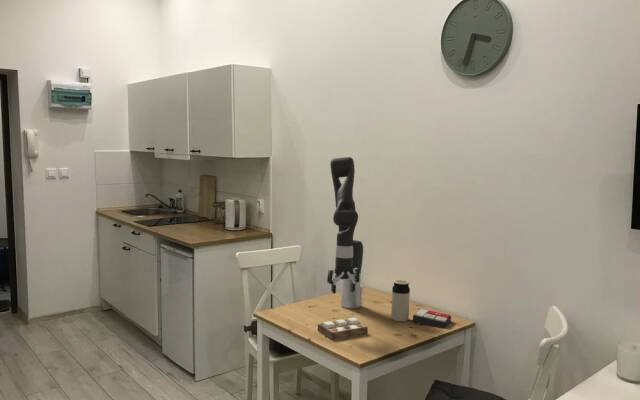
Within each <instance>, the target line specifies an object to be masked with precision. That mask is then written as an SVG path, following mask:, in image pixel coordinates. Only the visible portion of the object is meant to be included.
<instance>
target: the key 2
mask: <svg viewBox="0 0 640 400" xmlns="http://www.w3.org/2000/svg"><path fill="white" fill-rule="evenodd" d="M346 320H347V323H349V324H351V325H353V324H358V323H359V322H360V321H359V319H358V318H356V317H349V318H346Z"/></svg>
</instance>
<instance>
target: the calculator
mask: <svg viewBox="0 0 640 400" xmlns="http://www.w3.org/2000/svg"><path fill="white" fill-rule="evenodd" d="M451 321H452V316H451V315H450V314H447V313H442V312H437V311H433V310H426V309H422V308H421V309H419V310H417V312H415V313H414V314H412V323H414V324H418V323H420V325H425V324H426V326H430V325H432V326H431V327H435V326H437V327H436V328H440V329H446V328H447V327H448V325H449V324H450V323H451Z"/></svg>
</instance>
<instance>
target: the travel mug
mask: <svg viewBox="0 0 640 400" xmlns="http://www.w3.org/2000/svg"><path fill="white" fill-rule="evenodd" d="M409 284H410V281H409V280H407V279H403V278H402V279H393V286H392V287H391V290H392V291H391V292H392V293H391V313H390V315H391V317H390V319H391V320H393V321H394V322H399V323H403V322H407V321H409V320H410V319H409V318H410V317H409V314H410V295H411V293H410V291H411V289H410V285H409Z"/></svg>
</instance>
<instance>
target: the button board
mask: <svg viewBox="0 0 640 400" xmlns="http://www.w3.org/2000/svg"><path fill="white" fill-rule="evenodd" d="M344 320H345V321H346V322H347V319H344ZM332 322H333V323H334V324H335V321H332ZM368 329H369V328H368V326H367V325H366V324H363V323H361V322H360V321H359V323H358V324H353V325H351V324H349V323H347V326H341V327H339V326H337V325H335V328H329V329H326V328H325V327H323V322H322V323H318V324H317V332H319V333H320V334H322V335H323V336H325V337H326V338H328V339H329V340H331V341H333V340H340V339H345V338H351V337H358V336H362V335H363V336H364V335H368V334H369V333H368Z"/></svg>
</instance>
